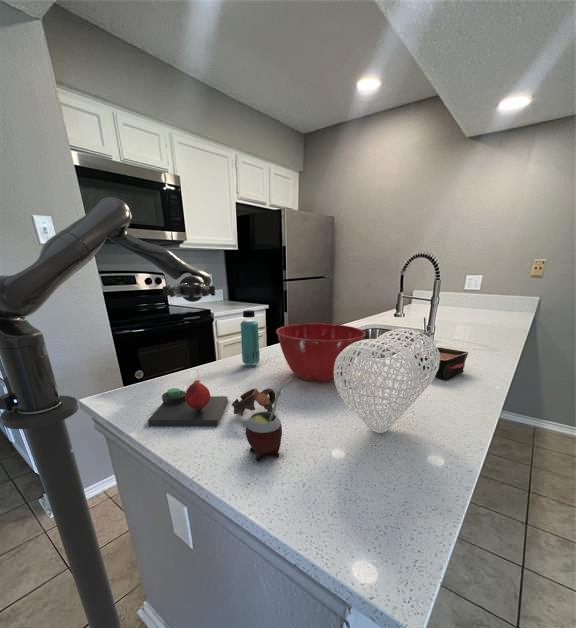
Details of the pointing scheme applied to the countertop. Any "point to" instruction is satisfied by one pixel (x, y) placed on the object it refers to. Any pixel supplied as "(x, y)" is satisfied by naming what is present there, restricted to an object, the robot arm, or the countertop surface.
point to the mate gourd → (265, 431)
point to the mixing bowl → (316, 348)
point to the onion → (197, 395)
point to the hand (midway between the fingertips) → (187, 292)
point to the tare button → (173, 392)
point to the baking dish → (448, 363)
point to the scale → (188, 412)
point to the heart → (414, 387)
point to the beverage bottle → (249, 339)
